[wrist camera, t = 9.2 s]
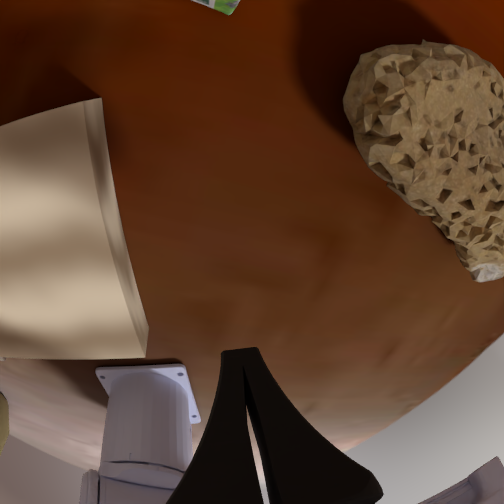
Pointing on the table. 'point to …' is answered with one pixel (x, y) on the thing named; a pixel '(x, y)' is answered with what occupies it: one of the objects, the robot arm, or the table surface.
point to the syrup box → (220, 5)
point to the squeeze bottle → (3, 421)
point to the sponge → (437, 141)
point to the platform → (64, 242)
